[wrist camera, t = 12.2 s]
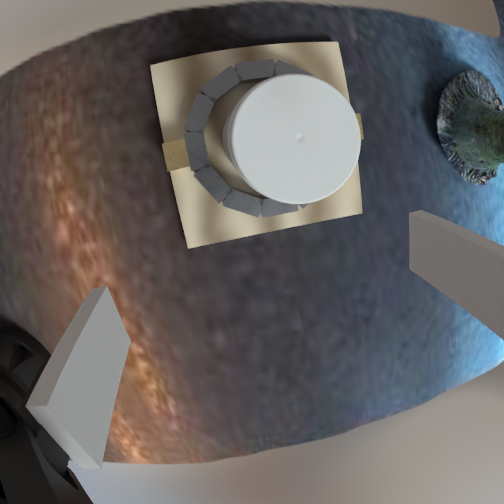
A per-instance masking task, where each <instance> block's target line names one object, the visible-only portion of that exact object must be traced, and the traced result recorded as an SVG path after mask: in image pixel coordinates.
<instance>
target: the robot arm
mask: <svg viewBox="0 0 504 504" xmlns="http://www.w3.org/2000/svg"><path fill="white" fill-rule="evenodd" d="M409 236H410V256H409V269H410V270H412V271H413V272H414V273H416V274H417V275H419V276H420V277H421V278H423V279H424V280H426V281H427V282H429V283H430V284H431V285H433V286H434V287H435V288H437V289H438V290H440V291H441V292H442V293H444V294H445V295H446V296H448V297H449V298H450V299H452V300H453V301H454V302H456V303H457V304H458V305H460V306H461V307H462V308H464V309H465V310H466V311H468V312H469V313H470V314H472V315H473V316H474V317H475V318H477V319H478V320H479V321H481V322H482V323H483V324H484V325H486V326H487V327H488V328H489V329H491V330H492V331H493V332H494V333H496V334H497V335H498V336H499V337H500V338H502V339H503V340H504V246H502V245H500V244H498V243H496V242H494V241H492V240H490V239H488V238H486V237H483V236H481V235H479V234H477V233H475V232H472V231H470V230H468V229H466V228H463V227H461V226H459V225H456V224H454V223H452V222H449V221H447V220H445V219H442V218H440V217H437V216H435V215H432V214H430V213H427V212H425V211H422V210H420V211H416V212H412V213H409ZM130 342H131V340H130V338H129V336H128V334H127V331H126V329H125V327H124V325H123V323H122V320H121V318H120V316H119V313H118V311H117V309H116V306H115V304H114V302H113V299H112V297H111V294H110V292H109V289H108V287H107V286H104V287H100V288H96V289H92V290H91V291H90V292H89V294H88V295H87V297H86V299H85V300H84V302H83V303H82V305H81V306H80V308H79V310H78V311H77V313H76V315H75V316H74V318H73V319H72V321H71V323H70V324H69V326H68V328H67V329H66V331H65V333H64V335H63V336H62V338H61V340H60V341H59V343H58V345H57V347H56V348H55V350H54V352H53V354H52V356H50V355H49V353H48V352H47V351H46V350H45V349H44V347H43V346H42V345H40V344H39V343H38V342H37V341H36V340H35V339H33V338H32V337H31V336H29V335H28V334H26V333H24V332H22V331H20V330H17V329H14V328H9V327H5V328H0V504H93V503H92V501H91V500H90V498H89V497H88V495H87V494H86V492H85V490H84V489H83V487H82V486H81V484H80V483H79V481H78V479H77V478H76V476H75V474H74V473H73V472H72V471H71V470H70V469H69V468H68V467H67V465H68V461H69V457H70V458H71V459H72V460H73V461H74V462H75V463H76V464H77V465H78V466H79V467H80V468H101V467H102V462H103V457H104V451H105V446H106V441H107V436H108V431H109V427H110V422H111V417H112V413H113V408H114V404H115V400H116V396H117V392H118V388H119V384H120V380H121V376H122V372H123V368H124V364H125V360H126V357H127V353H128V350H129V346H130Z"/></svg>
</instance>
